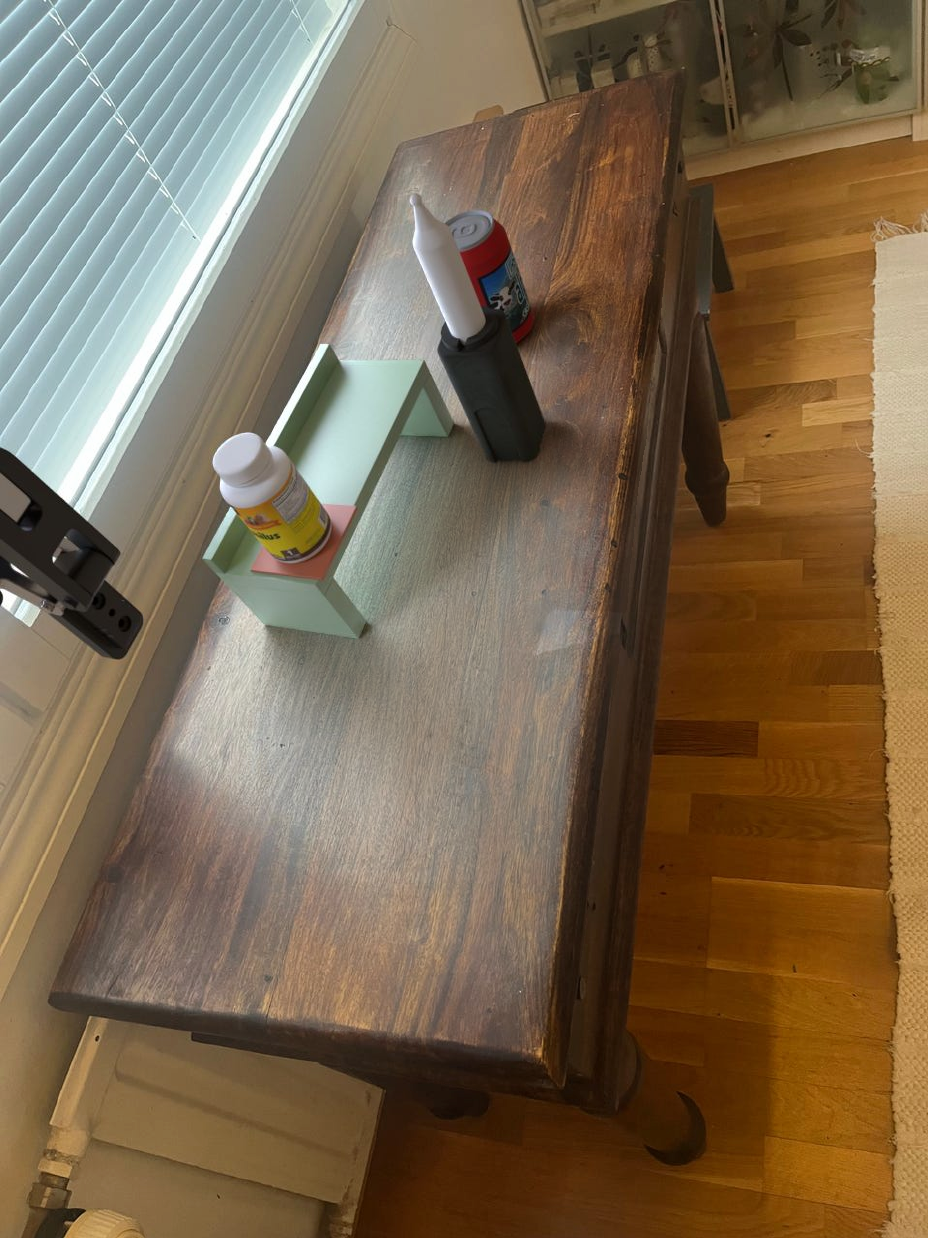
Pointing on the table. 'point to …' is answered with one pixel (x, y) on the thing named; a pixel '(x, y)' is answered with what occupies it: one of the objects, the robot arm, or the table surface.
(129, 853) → the table surface
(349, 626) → the shelf
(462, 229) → the beverage can
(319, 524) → the supplement bottle
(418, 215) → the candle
